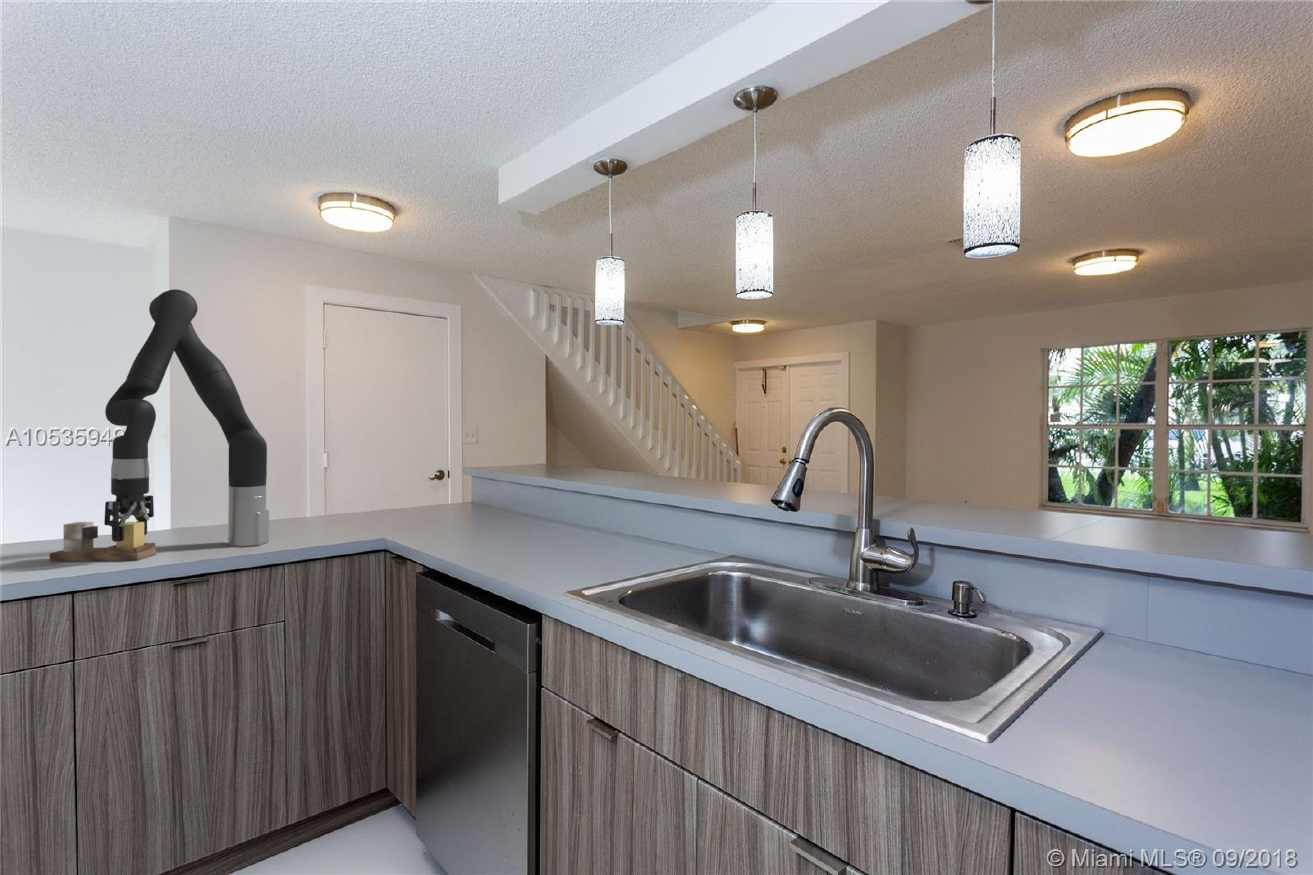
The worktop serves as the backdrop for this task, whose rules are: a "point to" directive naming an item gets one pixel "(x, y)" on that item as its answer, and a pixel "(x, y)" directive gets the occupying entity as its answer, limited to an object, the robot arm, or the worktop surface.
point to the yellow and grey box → (132, 535)
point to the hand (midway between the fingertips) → (130, 538)
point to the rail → (81, 548)
